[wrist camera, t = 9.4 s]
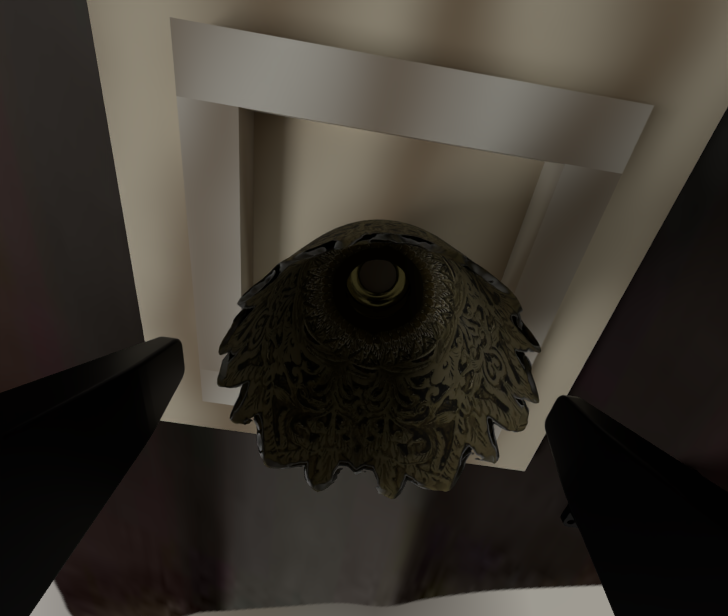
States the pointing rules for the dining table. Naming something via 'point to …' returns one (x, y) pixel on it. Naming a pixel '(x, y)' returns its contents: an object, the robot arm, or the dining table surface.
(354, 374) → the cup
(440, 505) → the dining table surface
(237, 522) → the dining table surface
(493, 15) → the docking plate
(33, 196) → the dining table surface
